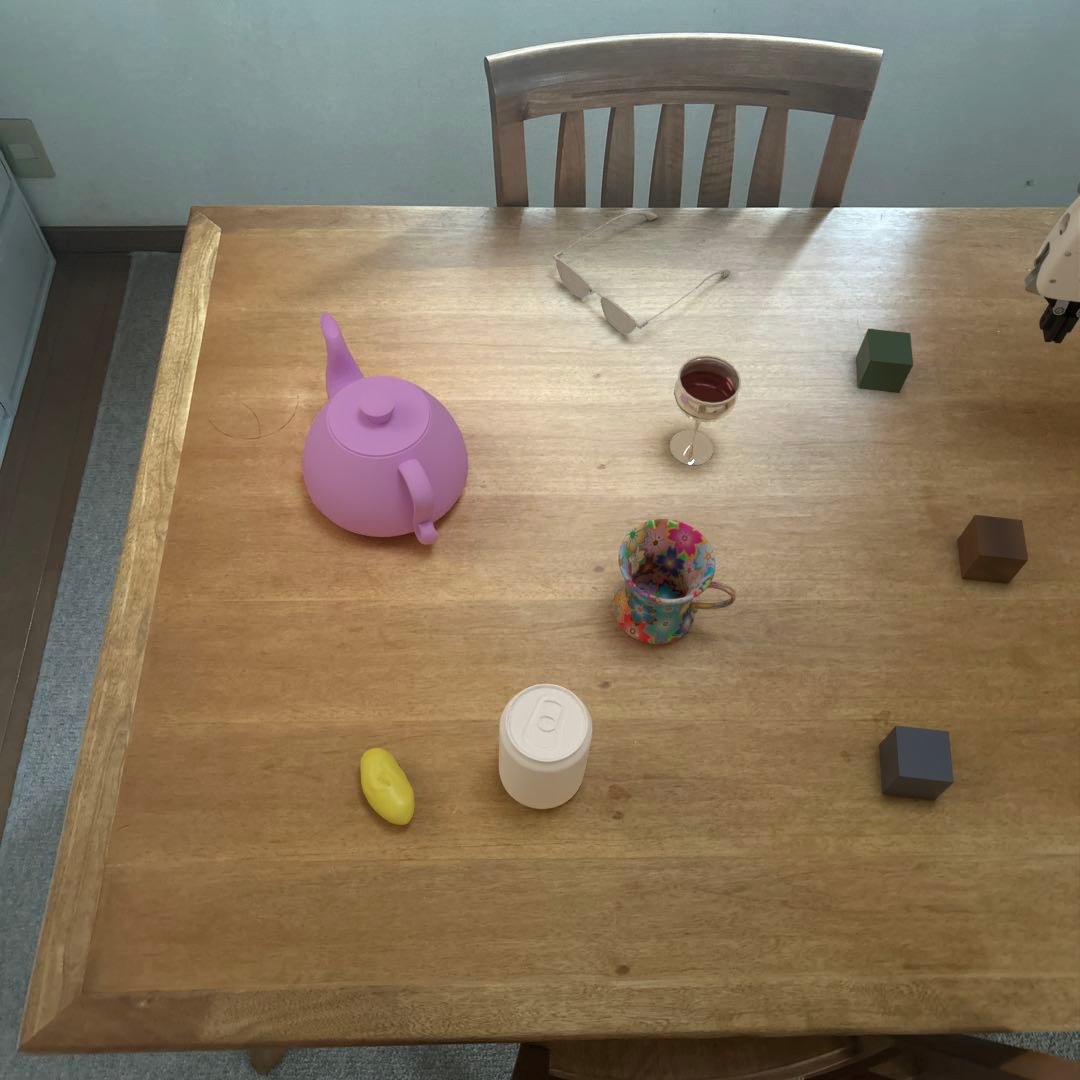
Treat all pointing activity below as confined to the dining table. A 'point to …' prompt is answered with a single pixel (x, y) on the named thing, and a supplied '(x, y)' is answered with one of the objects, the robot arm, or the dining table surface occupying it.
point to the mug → (664, 580)
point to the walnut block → (992, 549)
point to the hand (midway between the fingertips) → (1050, 332)
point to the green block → (884, 360)
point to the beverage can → (544, 745)
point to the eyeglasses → (610, 308)
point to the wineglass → (703, 403)
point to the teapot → (381, 451)
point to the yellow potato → (386, 786)
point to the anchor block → (916, 762)
